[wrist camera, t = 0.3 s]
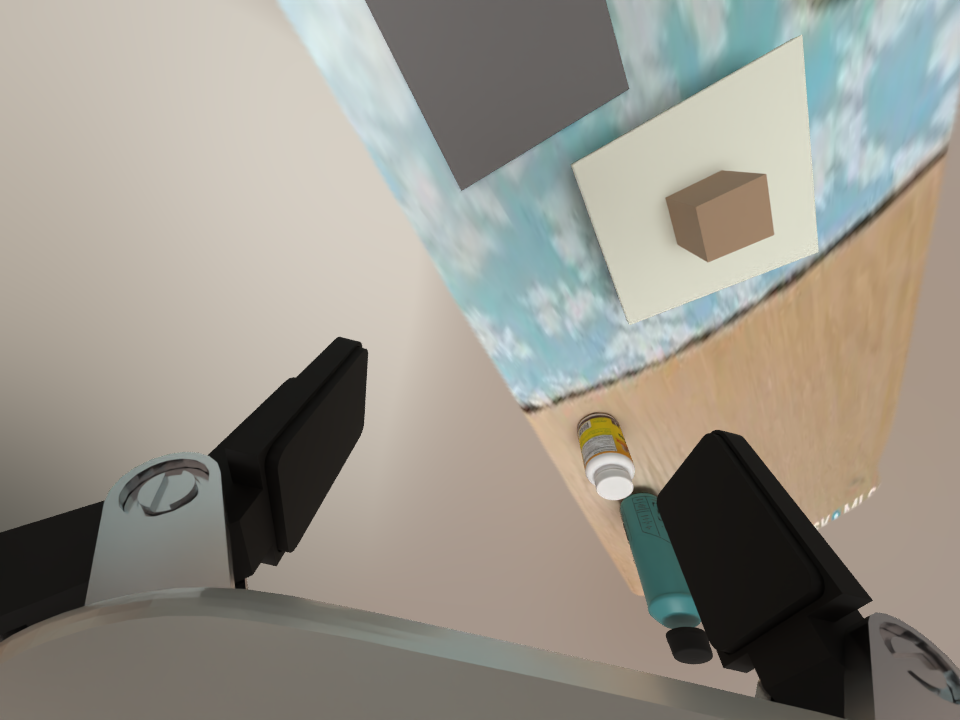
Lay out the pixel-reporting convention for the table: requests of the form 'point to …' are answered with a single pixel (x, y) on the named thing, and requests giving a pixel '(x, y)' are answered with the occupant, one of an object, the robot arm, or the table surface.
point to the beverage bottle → (663, 579)
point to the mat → (501, 71)
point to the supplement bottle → (606, 456)
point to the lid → (707, 188)
